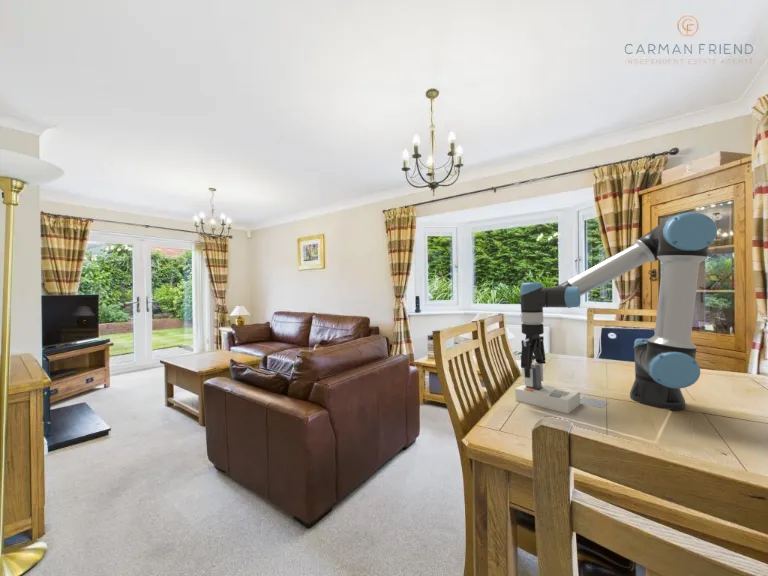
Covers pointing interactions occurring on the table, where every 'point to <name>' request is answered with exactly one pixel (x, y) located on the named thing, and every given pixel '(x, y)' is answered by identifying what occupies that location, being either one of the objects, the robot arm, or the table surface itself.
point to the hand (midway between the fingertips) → (534, 383)
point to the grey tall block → (536, 378)
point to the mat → (593, 402)
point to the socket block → (549, 397)
